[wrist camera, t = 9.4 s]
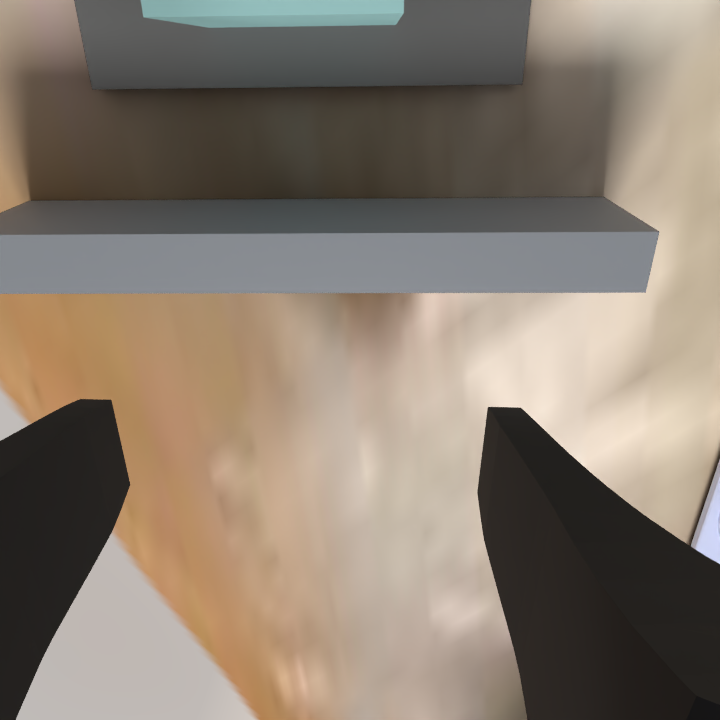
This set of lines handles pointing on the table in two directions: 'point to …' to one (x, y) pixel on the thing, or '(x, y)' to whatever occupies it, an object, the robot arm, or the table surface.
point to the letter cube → (275, 12)
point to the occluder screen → (325, 246)
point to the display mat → (308, 49)
